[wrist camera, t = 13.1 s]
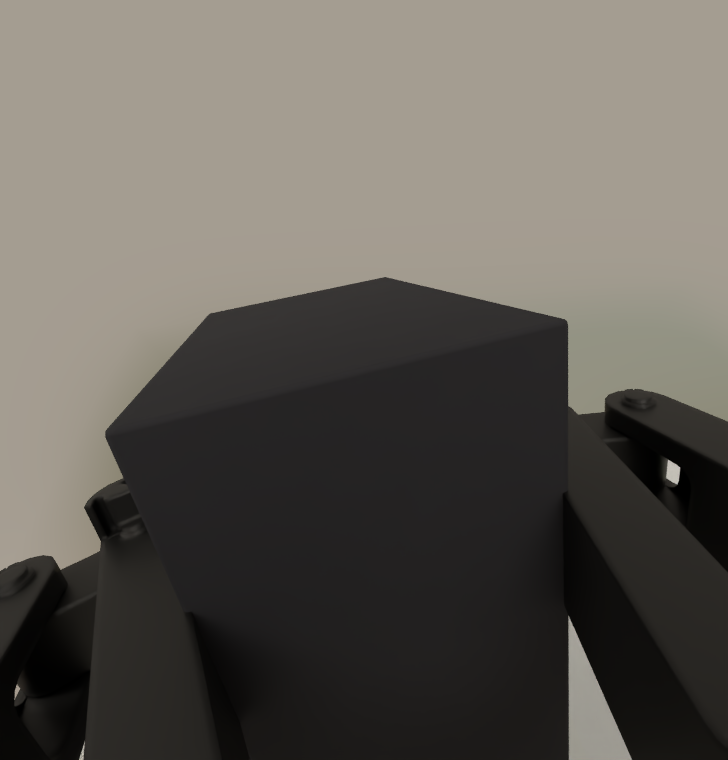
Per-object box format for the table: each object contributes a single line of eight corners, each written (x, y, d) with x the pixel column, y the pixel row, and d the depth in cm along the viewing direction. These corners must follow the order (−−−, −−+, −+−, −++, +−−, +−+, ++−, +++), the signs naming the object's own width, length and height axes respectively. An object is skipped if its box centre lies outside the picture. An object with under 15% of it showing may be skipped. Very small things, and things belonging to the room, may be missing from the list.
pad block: (301, 880, 8) (98, 432, 5) (283, 556, 16) (208, 313, 13) (570, 762, 9) (570, 318, 5) (423, 513, 17) (387, 276, 14)
